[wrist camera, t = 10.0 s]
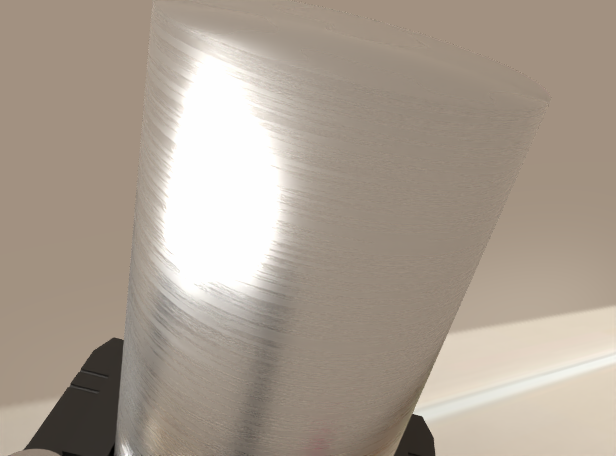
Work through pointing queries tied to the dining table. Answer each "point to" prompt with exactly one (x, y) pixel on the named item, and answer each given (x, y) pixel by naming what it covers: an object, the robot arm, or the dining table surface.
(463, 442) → the dining table surface
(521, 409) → the dining table surface
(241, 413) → the metal can
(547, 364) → the dining table surface
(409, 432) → the robot arm
